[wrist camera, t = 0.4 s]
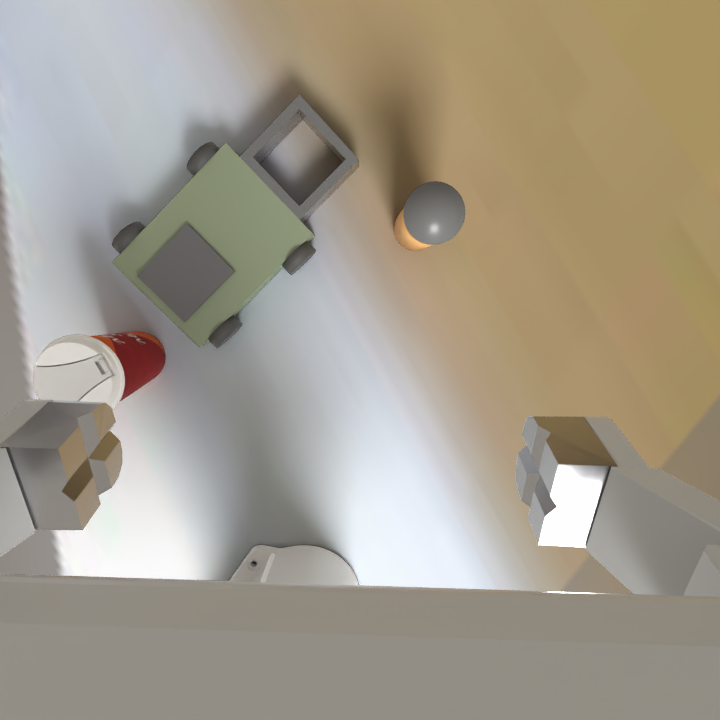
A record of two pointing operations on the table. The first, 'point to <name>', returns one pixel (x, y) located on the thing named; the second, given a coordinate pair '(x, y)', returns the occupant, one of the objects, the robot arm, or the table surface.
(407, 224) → the orange and grey cylinder
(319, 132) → the box
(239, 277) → the toy wheeled cart
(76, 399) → the coffee cup
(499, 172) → the table surface
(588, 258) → the table surface
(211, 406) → the table surface
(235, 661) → the robot arm
